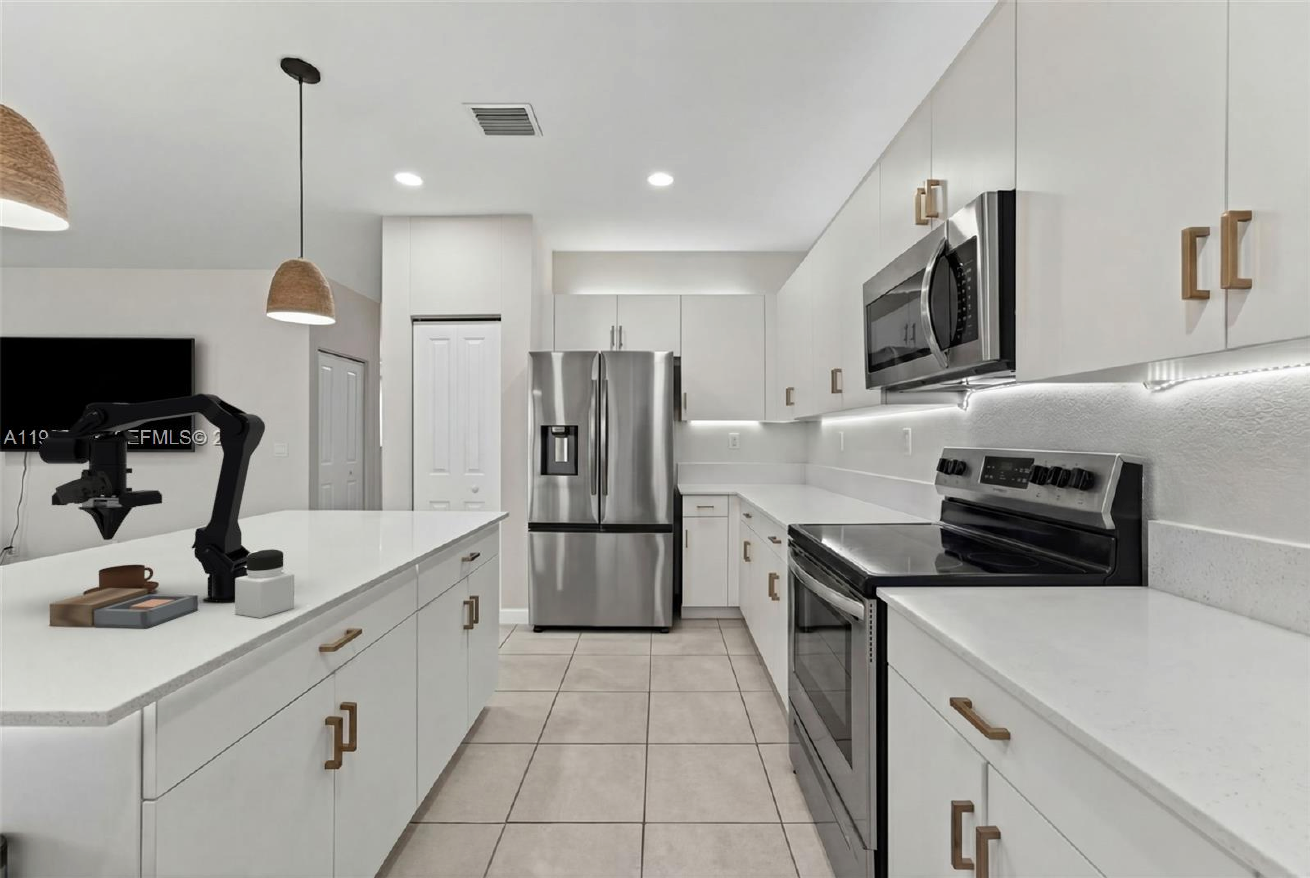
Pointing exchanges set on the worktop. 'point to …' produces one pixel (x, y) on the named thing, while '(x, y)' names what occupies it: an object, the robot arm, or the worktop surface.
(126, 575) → the cup and saucer
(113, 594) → the tan wooden board
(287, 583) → the medicine bottle
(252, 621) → the worktop surface
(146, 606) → the tile
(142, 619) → the box
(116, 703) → the worktop surface
